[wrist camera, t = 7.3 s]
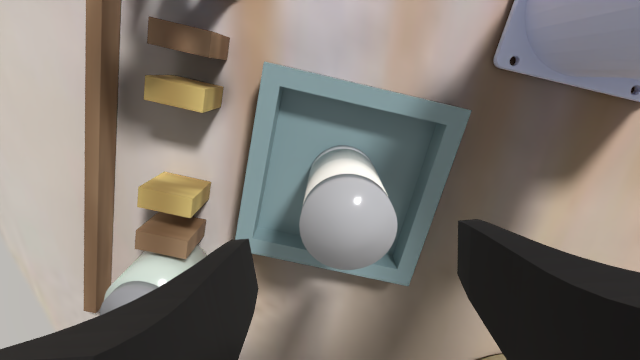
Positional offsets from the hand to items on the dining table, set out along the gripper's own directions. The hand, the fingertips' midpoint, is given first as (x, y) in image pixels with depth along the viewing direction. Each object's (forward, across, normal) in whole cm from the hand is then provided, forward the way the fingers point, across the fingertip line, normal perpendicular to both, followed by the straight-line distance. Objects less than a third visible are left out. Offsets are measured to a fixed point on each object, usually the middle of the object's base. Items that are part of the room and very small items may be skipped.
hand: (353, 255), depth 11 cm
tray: (+10, 0, 0) cm, 10 cm away
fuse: (+9, 0, 0) cm, 9 cm away
